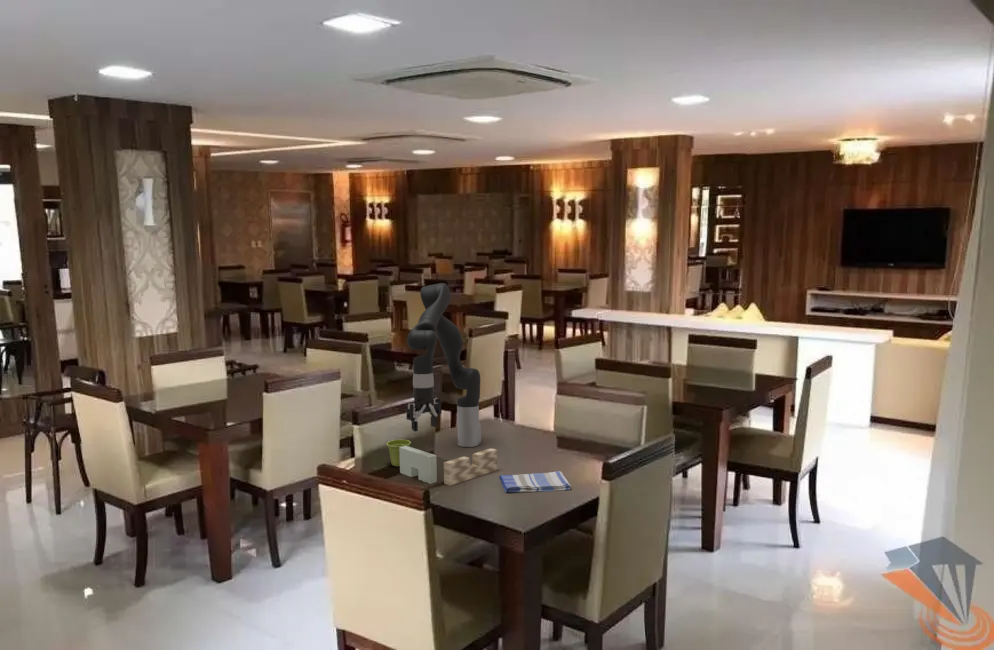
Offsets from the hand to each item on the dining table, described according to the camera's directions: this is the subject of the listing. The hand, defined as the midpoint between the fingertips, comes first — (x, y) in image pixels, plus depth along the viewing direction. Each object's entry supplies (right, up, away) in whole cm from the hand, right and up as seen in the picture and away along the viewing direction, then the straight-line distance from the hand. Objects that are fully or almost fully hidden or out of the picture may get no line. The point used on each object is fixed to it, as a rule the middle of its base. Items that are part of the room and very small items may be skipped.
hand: (424, 428), depth 265 cm
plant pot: (-12, -17, +22) cm, 30 cm away
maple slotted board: (+17, -19, +5) cm, 26 cm away
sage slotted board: (-3, -19, +5) cm, 20 cm away
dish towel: (+40, -20, -3) cm, 45 cm away
